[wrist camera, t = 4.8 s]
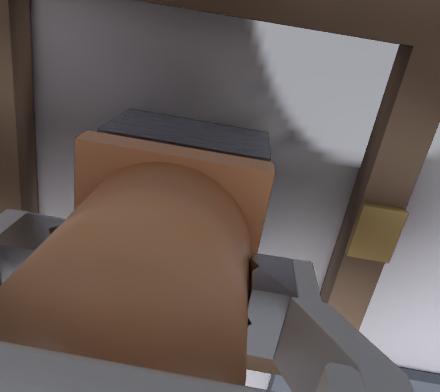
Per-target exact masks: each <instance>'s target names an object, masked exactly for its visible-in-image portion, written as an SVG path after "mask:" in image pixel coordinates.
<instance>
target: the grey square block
mask: <svg viewBox="0 0 440 392" xmlns="http://www.w3.org/2000/svg"><path fill="white" fill-rule="evenodd" d="M98 132H101V133H107V134H112V135H118V136H124V137H130V138H136V139H141V140H147V141H153V142H159V143H164V144H170V145H176V146H182V147H188V148H193V149H199V150H205V151H211V152H216V153H222V154H228V155H234V156H240V157H245V158H251V159H257V160H263V161H269V162H270V160H271V156H270V147H269V137H268V133H267V132H261V131H255V130H250V129H244V128H238V127H232V126H226V125H221V124H215V123H209V122H203V121H198V120H192V119H186V118H180V117H174V116H169V115H163V114H157V113H151V112H145V111H140V110H134V109H128V110H127V111H125V112H124V113H122V114H120V115H119V116H117V117H116V118H114V119H113V120H111V121H110V122H108V123H107V124H105V125H103V126H102V127H100V128H99V129H98Z"/></svg>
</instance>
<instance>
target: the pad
mask: <svg viewBox="0 0 440 392" xmlns="http://www.w3.org/2000/svg"><path fill="white" fill-rule="evenodd" d="M399 368H400V369H401V370H402V371H404V372H405V373H406V374H407V375H408V378H409V380H410V382H411V385H412V387H413V389H414V392H440V375H439V374H433V373H428V372H423V371H417V370H412V369H406V368H401V367H399ZM268 390H270V391H275V392H292V391H291V390H290V388H289V386H288V385H287V383H286V381H285V380H284V378H283V377H282V376H281V375H275V374H272V376H271V380H270V383H269V387H268Z"/></svg>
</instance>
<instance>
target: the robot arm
mask: <svg viewBox="0 0 440 392" xmlns="http://www.w3.org/2000/svg"><path fill="white" fill-rule="evenodd" d="M64 220H65V219H62V218H57V217H52V216H47V215H42V214H37V213H32V212H31V213H30V212H28V211H22V210H15V209H6V210H5V211H4V212H2V213H1V214H0V286H1V285H2V284H3V283H4V282H5V281H6V280H7V279H8V278H9V276H10V275H11V274H12V273H13V272H14V271H15V270H16V269H17V268H18V267H19V266H20V265H21V264H22V263H23V262H24V261H25V260H26V259H27V258H28V257H29V256H30V255H31V254H32V253H33V252H34V251H35V250H36V249H37V248H38V247H39V246H40V245H41V244H42V243H43V242H44V241H45V240H46V239H47V238H48V237H49V236H50V235H51V234H52V233H53V232H54V230H55V229H56V228H57V227H58V226H59V225H60V224H61V223H62V222H63V221H64ZM247 354H248V355H252V356H257V357H262V358H267V359H271V360H273V362H274V364H275V365H276V367H277V369H278V370H279V372H280V373H281V375H282V377H283V378H284V380H285V381H286V383H287V385H288V386H289V388H290V390H291V391H292V392H414V389H413V387H412V385H411V382H410V380H409V378H408V375H407V374H406V373H405V372H404V371H402V370H401V369H400V368H399V367H398V366H397V365H396V364H395V363H394V362H392V361H391V360H390V359H389V358H388V357H387V356H386V355H385V354H384V353H382V352H381V351H380V350H379V349H378V348H377V347H376V346H375V345H374V344H372V343H371V342H370V341H369V340H368V339H367V338H366V337H365V336H364V335H362V334H361V333H360V332H359V331H358V330H357V329H356V328H355V327H354V326H352V325H351V324H350V323H349V322H348V321H347V320H346V319H345V318H344V317H343V316H341V315H340V314H339V313H338V312H337V311H336V310H335V309H334V308H333V307H331V306H330V305H329V304H328V303H323V302H322V300H321V296H320V292H319V288H318V284H317V280H316V276H315V271H314V267H313V263H311V262H310V261H303V260H296V259H289V258H283V257H276V256H270V255H263V254H257V253H251V257H250V261H249V291H248V328H247ZM0 392H275V391H270V390H264V389H259V388H253V387H248V386H242V385H237V384H231V383H226V382H220V381H215V380H210V379H204V378H199V377H193V376H188V375H182V374H177V373H171V372H166V371H160V370H155V369H150V368H144V367H139V366H133V365H128V364H122V363H117V362H111V361H106V360H100V359H95V358H90V357H84V356H79V355H73V354H68V353H62V352H57V351H52V350H46V349H41V348H35V347H30V346H24V345H19V344H13V343H8V342H3V341H0Z"/></svg>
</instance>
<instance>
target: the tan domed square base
mask: <svg viewBox="0 0 440 392" xmlns="http://www.w3.org/2000/svg"><path fill="white" fill-rule="evenodd" d="M274 177H275V167H274V162H269V161H263V160H257V159H251V158H245V157H240V156H234V155H228V154H222V153H216V152H211V151H205V150H199V149H193V148H188V147H182V146H176V145H170V144H164V143H159V142H153V141H147V140H141V139H136V138H130V137H124V136H118V135H112V134H107V133H101V132H95V131H89V130H87V131H85V132H83V133H82V134H80V135H79V136H77V137H75V138H74V194H75V210H74V211H73V212H72V213H71V214H70V215H69V216H68V217H67V218H66V219H65V220H64V221H63V222H62V223H61V224H60V225H59V226H58V227H57V228H56V229H55V230H54V232H53V233H52V234H51V235H50V236H49V237H48V238H47V239H46V240H45V241H44V242H43V243H42V244H41V245H40V246H39V247H38V248H37V249H36V250H35V251H34V252H33V253H32V254H31V255H30V256H29V257H28V258H27V259H26V260H25V261H24V262H23V263H22V264H21V265H20V266H19V267H18V268H17V269H16V270H15V271H14V272H13V273H12V274H11V275H10V276H9V278H8V279H7V280H6V281H5V282H4V283H3V284H2V285H1V286H0V341H3V342H8V343H13V344H19V345H24V346H30V347H35V348H41V349H46V350H52V351H57V352H62V353H68V354H73V355H79V356H84V357H90V358H95V359H100V360H106V361H111V362H117V363H122V364H128V365H133V366H139V367H144V368H150V369H155V370H160V371H166V372H171V373H177V374H182V375H188V376H193V377H199V378H204V379H210V380H215V381H220V382H226V383H231V384H237V385H242V386H245V381H246V361H247V328H248V291H249V261H250V257H251V253H257V252H258V247H259V243H260V239H261V234H262V230H263V225H264V221H265V216H266V212H267V208H268V203H269V199H270V194H271V190H272V185H273V181H274Z"/></svg>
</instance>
